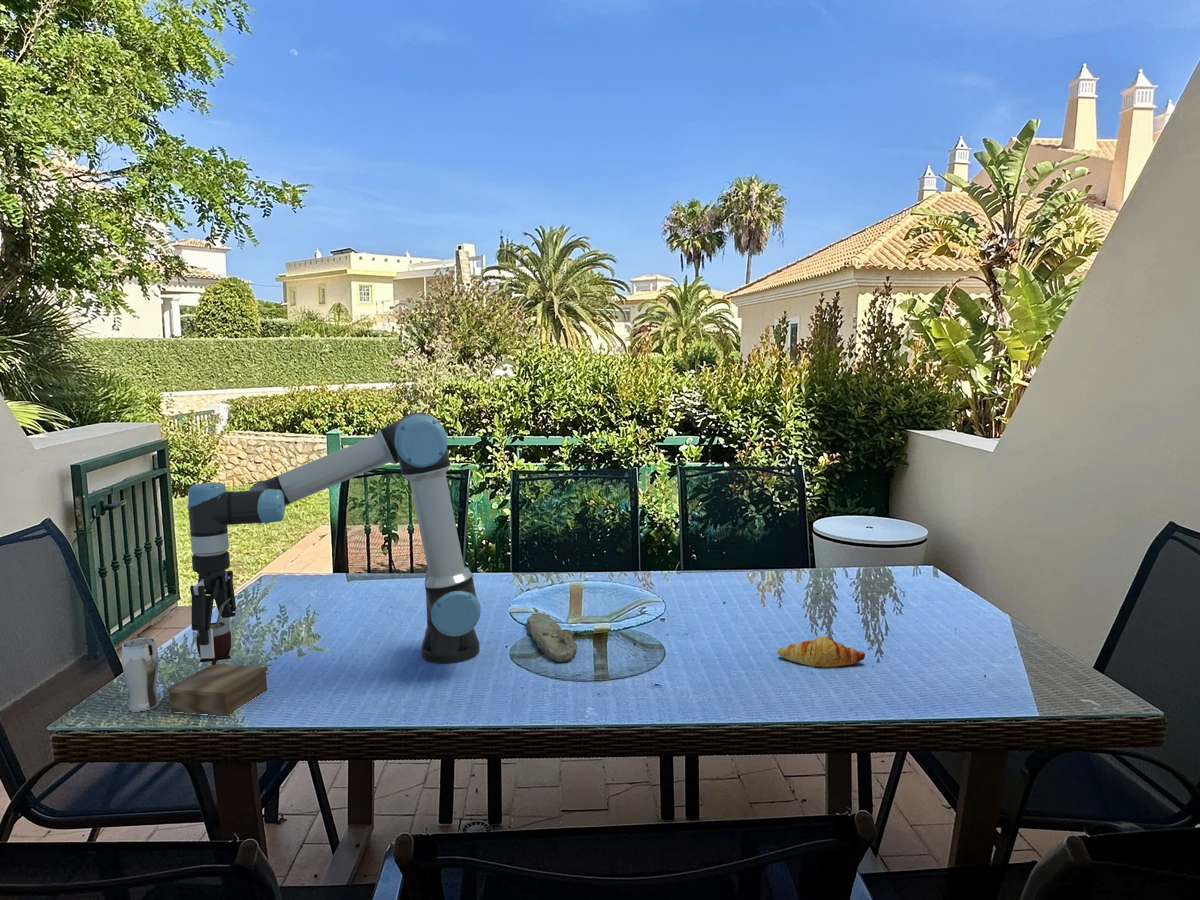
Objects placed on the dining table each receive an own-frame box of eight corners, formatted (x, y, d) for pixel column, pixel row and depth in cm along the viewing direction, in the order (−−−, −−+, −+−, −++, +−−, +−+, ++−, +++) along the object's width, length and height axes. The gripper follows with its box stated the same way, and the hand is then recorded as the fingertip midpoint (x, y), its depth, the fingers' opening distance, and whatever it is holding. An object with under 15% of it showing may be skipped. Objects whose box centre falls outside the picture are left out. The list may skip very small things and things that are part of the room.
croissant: (778, 676, 193) (777, 654, 189) (777, 645, 201) (777, 624, 197) (866, 680, 188) (868, 658, 184) (861, 649, 197) (863, 627, 192)
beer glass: (168, 699, 176) (163, 636, 174) (151, 713, 169) (146, 647, 167) (137, 700, 175) (132, 637, 174) (119, 714, 168) (113, 648, 167)
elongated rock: (552, 624, 229) (520, 630, 226) (551, 607, 228) (518, 612, 225) (585, 659, 195) (548, 667, 192) (584, 639, 195) (546, 646, 192)
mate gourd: (200, 656, 175) (195, 593, 174) (237, 652, 178) (233, 589, 177) (195, 668, 168) (190, 602, 167) (234, 663, 171) (230, 598, 170)
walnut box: (269, 691, 180) (267, 667, 179) (227, 719, 166) (226, 692, 165) (214, 687, 183) (212, 663, 182) (169, 714, 169) (167, 688, 168)
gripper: (217, 542, 181) (223, 636, 183) (167, 563, 161) (174, 668, 163) (248, 542, 180) (254, 636, 183) (202, 563, 161) (209, 668, 163)
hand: (216, 651), depth 173 cm, fingers closed on mate gourd, 7 cm apart
